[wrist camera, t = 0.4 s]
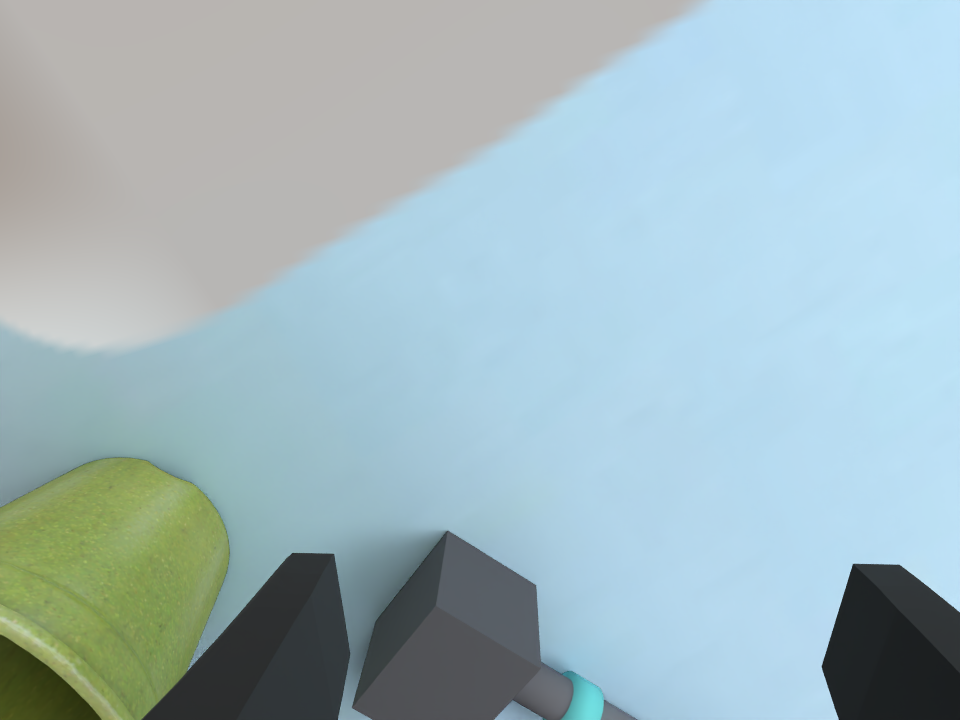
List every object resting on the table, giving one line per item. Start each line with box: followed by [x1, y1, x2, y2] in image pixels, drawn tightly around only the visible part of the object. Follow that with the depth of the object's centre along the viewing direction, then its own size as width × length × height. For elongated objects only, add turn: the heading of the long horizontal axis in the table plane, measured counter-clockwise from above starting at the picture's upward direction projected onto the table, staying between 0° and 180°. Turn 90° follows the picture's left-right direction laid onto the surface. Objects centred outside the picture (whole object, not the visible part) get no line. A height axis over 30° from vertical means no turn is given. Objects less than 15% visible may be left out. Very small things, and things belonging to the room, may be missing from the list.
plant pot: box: [0, 458, 230, 720], centre depth 18 cm, size 9×9×9 cm
